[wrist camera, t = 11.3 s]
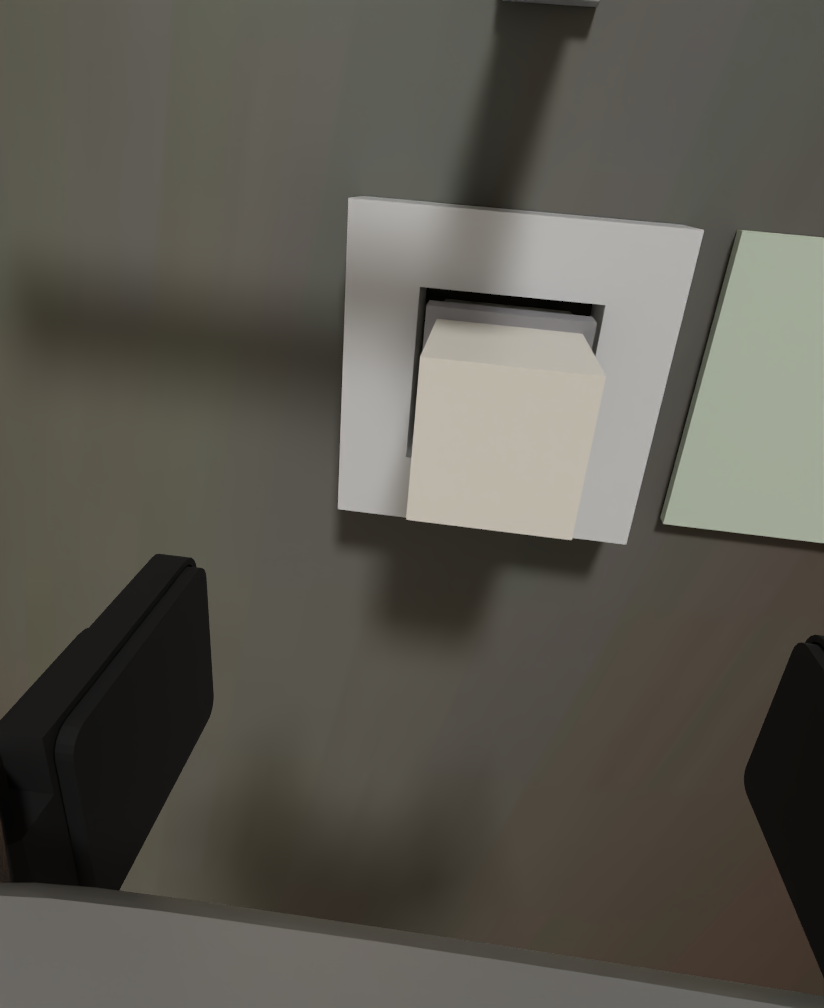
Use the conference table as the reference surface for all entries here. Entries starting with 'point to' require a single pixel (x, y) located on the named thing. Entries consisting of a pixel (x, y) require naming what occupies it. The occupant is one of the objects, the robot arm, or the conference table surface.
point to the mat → (759, 399)
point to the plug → (503, 417)
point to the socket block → (513, 272)
